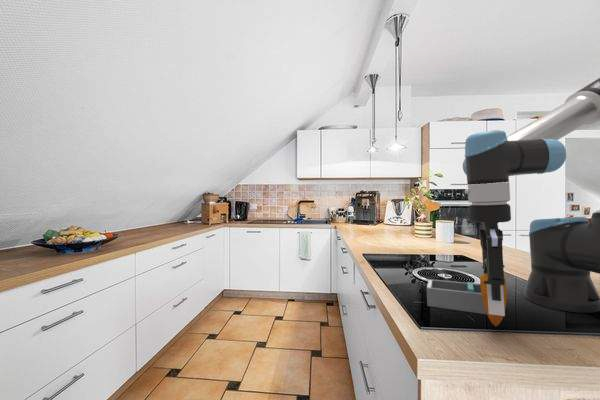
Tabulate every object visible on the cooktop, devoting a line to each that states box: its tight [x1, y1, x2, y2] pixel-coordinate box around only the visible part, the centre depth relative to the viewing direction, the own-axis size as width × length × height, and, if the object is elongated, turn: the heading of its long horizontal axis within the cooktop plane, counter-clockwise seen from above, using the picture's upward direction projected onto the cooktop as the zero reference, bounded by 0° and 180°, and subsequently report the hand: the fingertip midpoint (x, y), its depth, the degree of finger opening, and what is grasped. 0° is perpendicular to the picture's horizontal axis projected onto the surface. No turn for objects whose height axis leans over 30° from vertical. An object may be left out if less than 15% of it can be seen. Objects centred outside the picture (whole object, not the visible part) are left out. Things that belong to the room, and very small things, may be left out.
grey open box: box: [426, 278, 487, 315], centre depth 75 cm, size 17×9×5 cm, turn 61°
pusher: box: [466, 281, 474, 292], centre depth 74 cm, size 1×6×4 cm, turn 151°
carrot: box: [479, 259, 507, 327], centre depth 59 cm, size 5×5×15 cm
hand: (494, 309), depth 59 cm, fingers closed on carrot, 5 cm apart
